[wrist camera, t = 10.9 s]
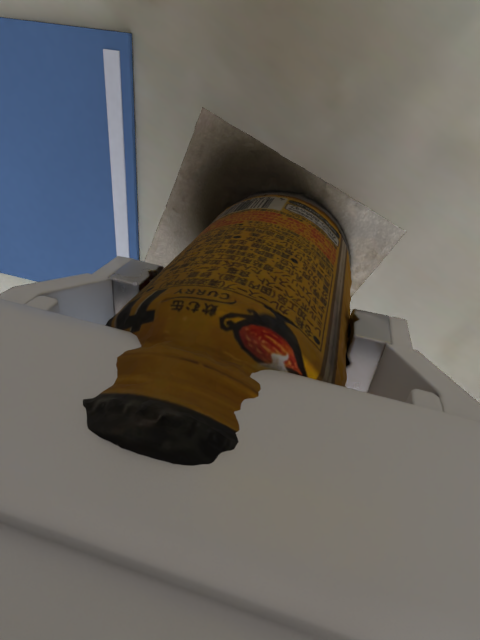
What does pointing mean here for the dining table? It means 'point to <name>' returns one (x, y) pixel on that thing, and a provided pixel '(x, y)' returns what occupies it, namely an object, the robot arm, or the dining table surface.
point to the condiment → (235, 295)
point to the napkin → (65, 150)
